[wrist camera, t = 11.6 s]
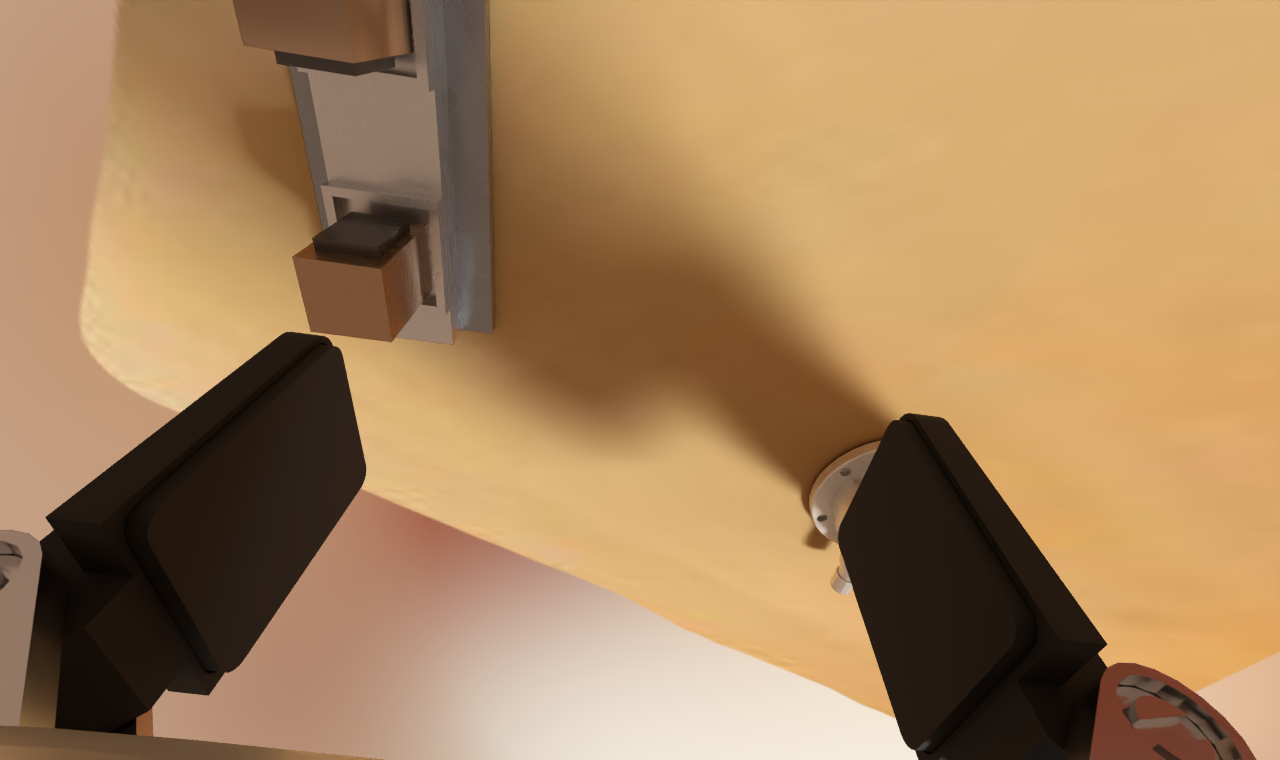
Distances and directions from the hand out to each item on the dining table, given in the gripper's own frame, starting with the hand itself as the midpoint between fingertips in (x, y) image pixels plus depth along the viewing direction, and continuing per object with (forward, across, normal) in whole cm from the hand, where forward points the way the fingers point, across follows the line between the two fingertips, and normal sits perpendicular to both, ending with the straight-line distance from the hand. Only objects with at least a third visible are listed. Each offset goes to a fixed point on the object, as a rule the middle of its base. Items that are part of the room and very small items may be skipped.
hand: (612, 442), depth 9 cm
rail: (+24, +14, 0) cm, 28 cm away
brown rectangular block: (+21, +14, -6) cm, 26 cm away
